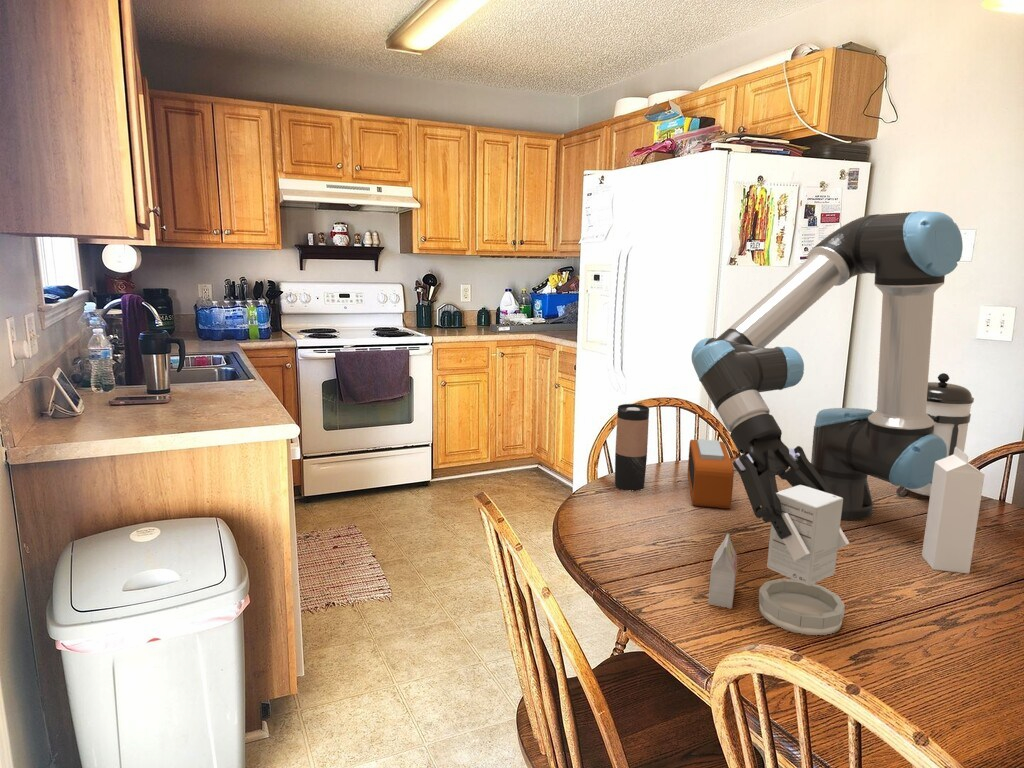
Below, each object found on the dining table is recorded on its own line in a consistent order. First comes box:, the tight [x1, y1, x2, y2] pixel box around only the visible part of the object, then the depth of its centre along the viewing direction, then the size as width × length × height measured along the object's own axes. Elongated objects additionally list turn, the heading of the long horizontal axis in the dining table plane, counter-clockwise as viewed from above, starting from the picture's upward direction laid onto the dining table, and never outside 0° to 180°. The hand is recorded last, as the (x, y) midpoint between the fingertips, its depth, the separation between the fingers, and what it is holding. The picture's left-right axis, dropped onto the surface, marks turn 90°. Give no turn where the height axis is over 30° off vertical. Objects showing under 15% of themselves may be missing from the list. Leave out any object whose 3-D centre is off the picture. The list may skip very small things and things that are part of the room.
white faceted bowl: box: [758, 578, 846, 637], centre depth 104 cm, size 12×12×3 cm
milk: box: [921, 447, 985, 574], centre depth 121 cm, size 6×6×22 cm
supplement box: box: [766, 485, 843, 586], centre depth 102 cm, size 7×7×13 cm
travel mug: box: [614, 403, 650, 492], centre depth 161 cm, size 8×8×20 cm
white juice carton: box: [707, 533, 738, 609], centre depth 109 cm, size 4×7×10 cm, turn 158°
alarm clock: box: [687, 439, 735, 509], centre depth 159 cm, size 24×8×11 cm, turn 168°
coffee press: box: [895, 372, 975, 497], centre depth 156 cm, size 17×16×30 cm
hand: (822, 552), depth 99 cm, fingers closed on supplement box, 8 cm apart
